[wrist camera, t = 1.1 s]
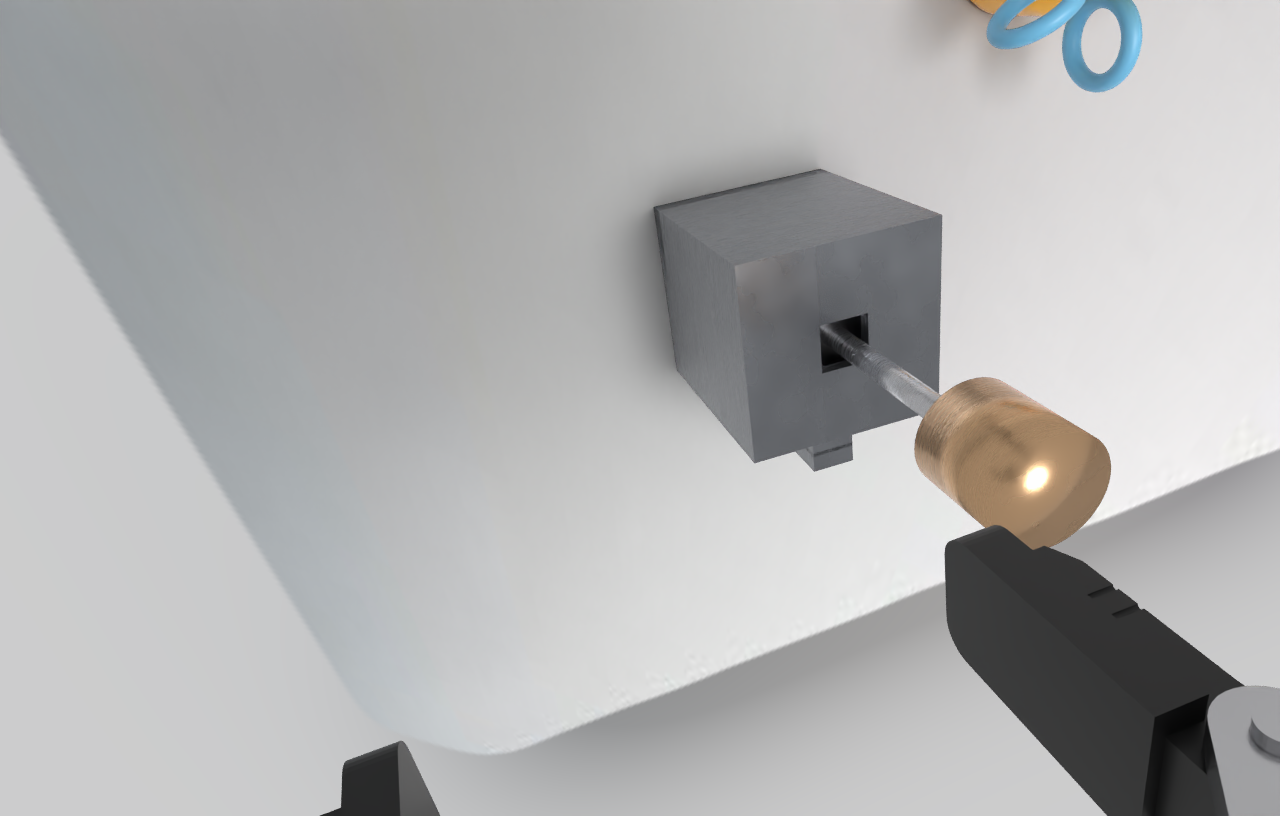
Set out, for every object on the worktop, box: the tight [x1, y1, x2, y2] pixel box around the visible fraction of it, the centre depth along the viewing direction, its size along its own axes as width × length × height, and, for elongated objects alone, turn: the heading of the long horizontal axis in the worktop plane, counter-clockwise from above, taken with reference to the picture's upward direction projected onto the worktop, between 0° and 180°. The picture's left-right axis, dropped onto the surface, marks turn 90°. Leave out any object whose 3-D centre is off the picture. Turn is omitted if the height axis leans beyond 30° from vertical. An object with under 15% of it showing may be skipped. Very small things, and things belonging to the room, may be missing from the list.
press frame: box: [654, 169, 942, 472], centre depth 41 cm, size 12×9×11 cm
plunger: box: [820, 315, 1111, 550], centre depth 31 cm, size 7×7×15 cm
